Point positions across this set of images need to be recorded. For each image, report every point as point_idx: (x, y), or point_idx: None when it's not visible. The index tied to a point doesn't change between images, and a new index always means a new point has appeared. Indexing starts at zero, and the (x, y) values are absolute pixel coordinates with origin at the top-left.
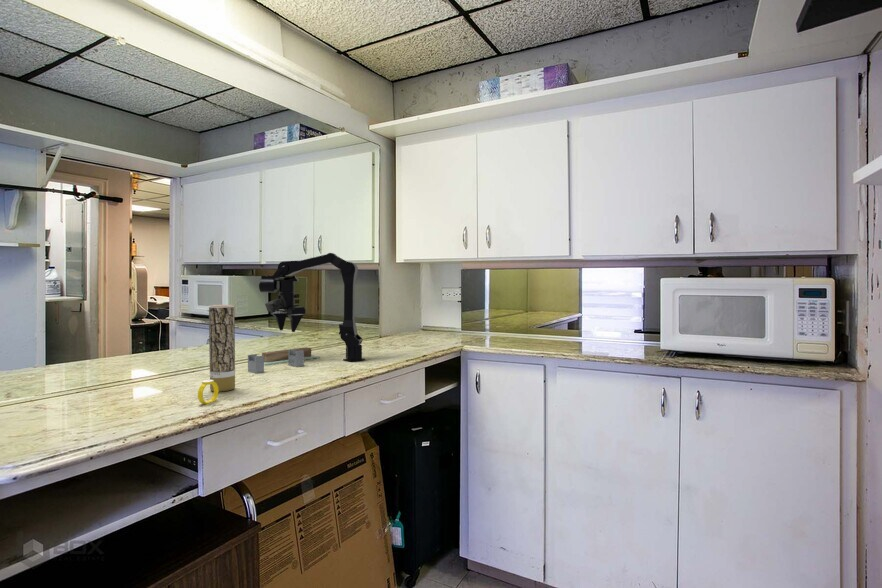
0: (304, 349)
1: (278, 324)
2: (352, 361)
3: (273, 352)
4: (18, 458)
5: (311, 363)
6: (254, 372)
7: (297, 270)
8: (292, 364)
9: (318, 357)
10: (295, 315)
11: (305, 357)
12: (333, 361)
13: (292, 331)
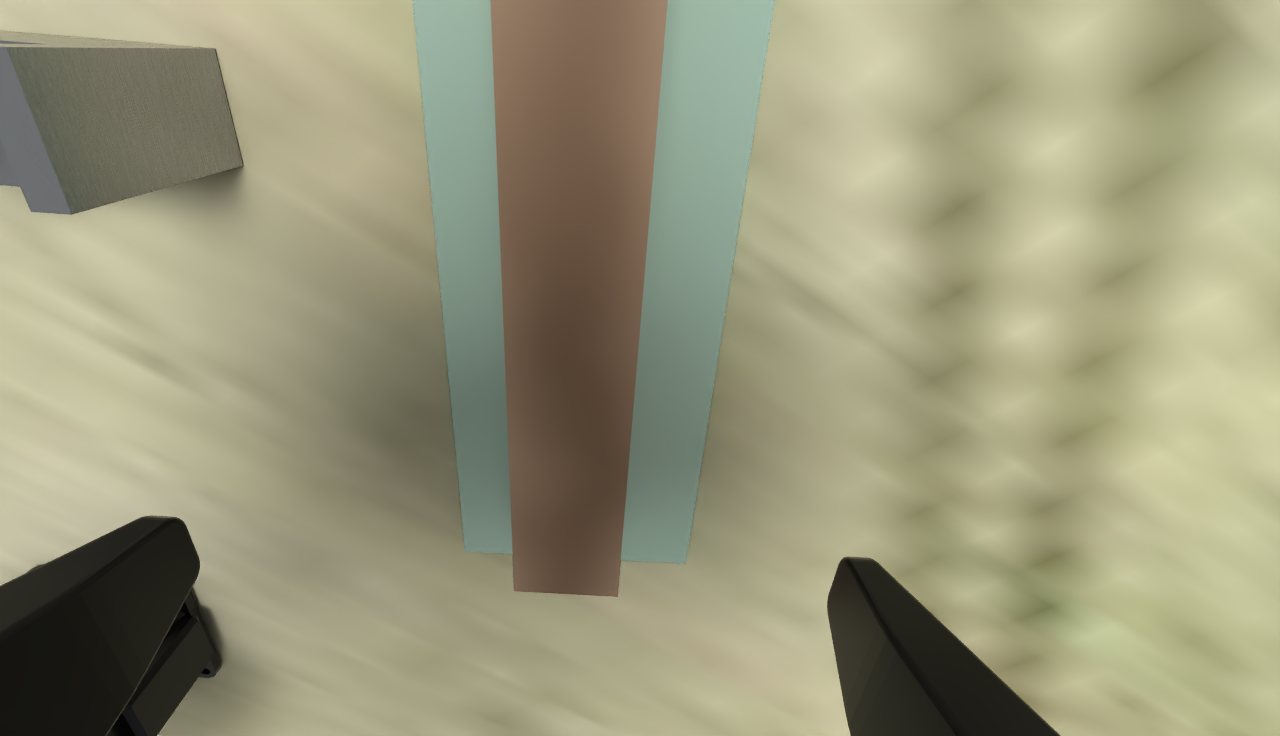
0: (511, 513)
1: (989, 712)
2: (31, 570)
3: (523, 18)
4: None
5: (189, 317)
6: None
7: None
8: (87, 38)
9: (466, 538)
10: None
11: None
12: (185, 506)
13: (135, 524)
